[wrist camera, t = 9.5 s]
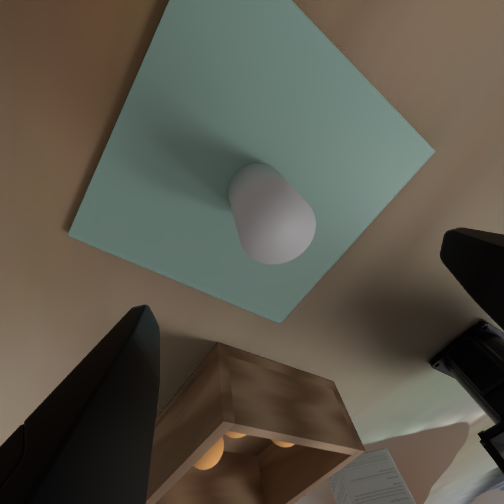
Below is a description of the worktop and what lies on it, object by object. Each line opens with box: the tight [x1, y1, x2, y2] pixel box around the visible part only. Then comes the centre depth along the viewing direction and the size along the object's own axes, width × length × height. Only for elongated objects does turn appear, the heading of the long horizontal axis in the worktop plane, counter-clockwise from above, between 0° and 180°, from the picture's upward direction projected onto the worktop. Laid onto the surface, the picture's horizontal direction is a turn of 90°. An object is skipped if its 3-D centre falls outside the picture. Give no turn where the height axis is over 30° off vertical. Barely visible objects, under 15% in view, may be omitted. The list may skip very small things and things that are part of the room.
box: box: [146, 343, 365, 504], centre depth 24 cm, size 13×13×6 cm
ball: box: [193, 437, 224, 470], centre depth 24 cm, size 3×3×3 cm
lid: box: [67, 0, 435, 324], centre depth 14 cm, size 15×15×6 cm
